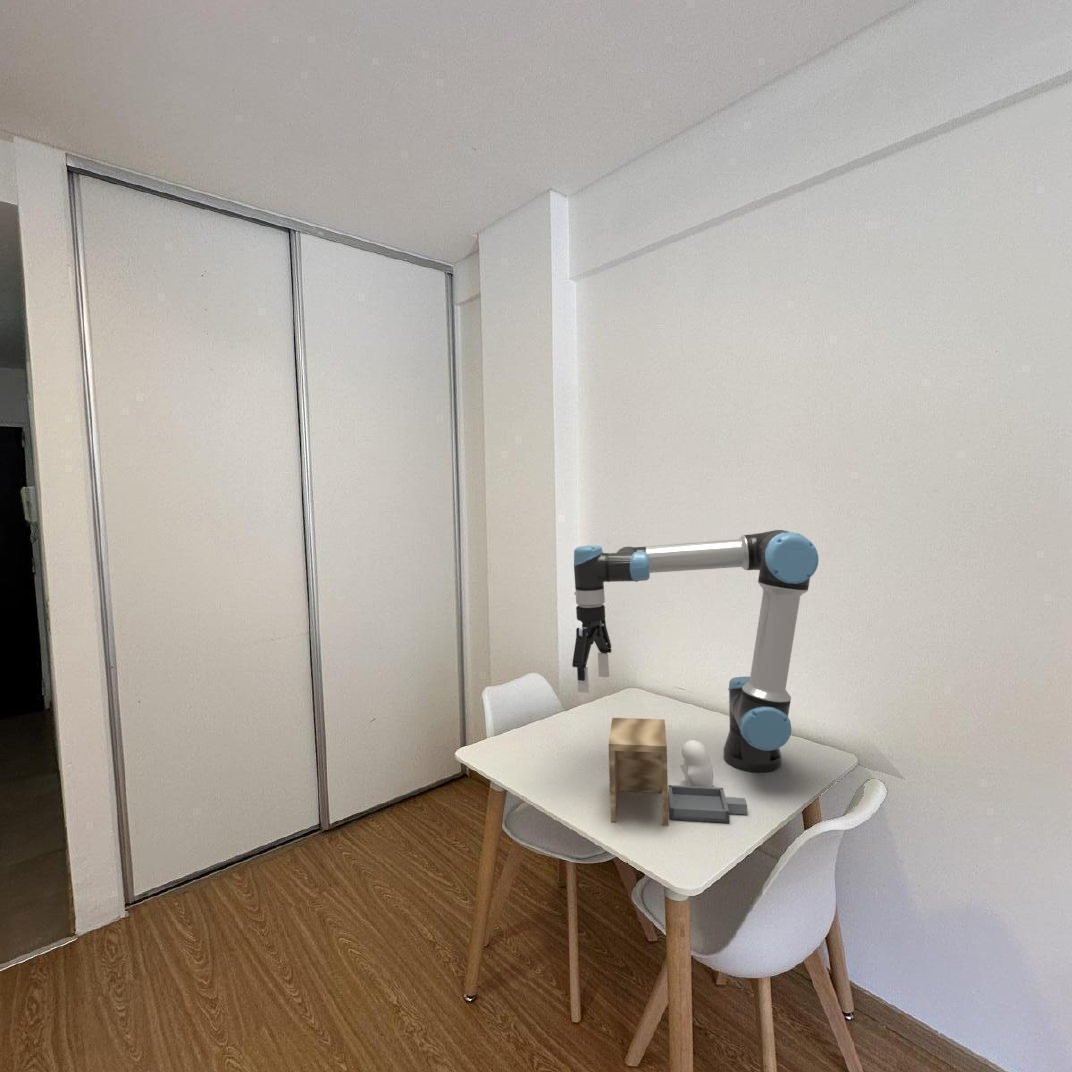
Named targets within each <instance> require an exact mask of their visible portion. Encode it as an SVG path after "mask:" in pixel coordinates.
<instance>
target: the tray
mask: <svg viewBox="0 0 1072 1072" xmlns="http://www.w3.org/2000/svg"><path fill="white" fill-rule="evenodd" d="M668 808H669V819H670V820H675V821H676V820H678V821H679V820H680V821H696V822H707V823H725V824H727V823H730V814H731V815H748V803H747V800H746V798H745V797H733V796H730V797H729V796H726V794H725V791H724V787H715V786H714V787H713V786H712V787H697V786H687V785H678V784H677V785H676V784H675V785H674V784H668Z"/></svg>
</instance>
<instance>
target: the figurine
mask: <svg viewBox="0 0 1072 1072" xmlns="http://www.w3.org/2000/svg"><path fill="white" fill-rule="evenodd" d="M681 755H682V758H683V761H681V763H680V768H681V770H682V772H683V774H684V779H685V783H686V786H697V787H713V785H714V784H713V783H714V770H713V766H712V762H711V760H710V756H709V755H710V754H709V753H708V751H707V748H706V747H705V746H704V745H703V744H702V742H700V741H698V740H693V739H690V740H688V741H686V742H685V743H684V744H683V746H682V749H681Z"/></svg>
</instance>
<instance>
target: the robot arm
mask: <svg viewBox="0 0 1072 1072" xmlns="http://www.w3.org/2000/svg"><path fill="white" fill-rule="evenodd" d="M819 559H820V558H819V553H818V550H817V548H816V546H815V545H814V544H813V542H812V541H811V540H810V539H808V538H807V537H805V536H804V535H802V534H800V533H798V532H794V531H787V530H783V529H774V530H768V531H764V532H758V533H752V534H743V535H741V536H740V537H739V538H738V539H737V538H736V539H726V540H725V539H724V540H713V541H712V540H711V541H697V542H685V543H671V544H659V545H658V544H657V545H648V546H636V547H635V546H624V547H622V548H619V549H618V550H617V552H607V553H606V552H604V551H603V547H602V546H601V545H583V546H581V545H580V546H577V547H576V548H575V549H574V550H573V570H574V571H573V572H574V587H575V591H574V595H575V603H576V605H577V606H576V607H575V609H576V610H575V611H576V620H577V621H579V622H581V623H582V624H581V627H577V628H576V630H575V633H576V634H575V642H574V649H573V650H574V651H573V656H572V664H571V665H572V668H576V672H577V673H576V675H577V692H578V693H584V694H590V688H589V687H590V684H589V668H588V666H587V663H588V659H589V655H590V651H591V648H592V645H593V644H595V645H596V648H597V650H598V652H597V660H598V661H597V662H598V663H597V665H598V668H597V669H598V677H599V678H609V677H610V667H609V666H610V665H609V654H611V653H612V643H611V639H610V636H609V633H608V632H609V631H608V628H607V623H606V622H607V621H606V607H605V605H604V604H605V603H606V600H605V599H606V598H605V597H606V596H605V585H604V584H605V583H609V582H612V583H613V582H635V583H638V582H645V581H649V579H650V577H651V576H650V575H651V574H655V573H668V572H684V571H685V572H686V571H696V570H697V571H701V570H714V569H729V568H732V569H733V568H742V569H743V570H744V571H759V572H758V573H759V574H758V580H757V583H758V585H759V586H760V587H761V588H762V596H761V604H760V610H759V615H758V621H757V622H758V623H757V630H756V636H755V637H756V638H755V644H754V650H753V657H752V663H751V668H750V670H751V671H750V676H736V677H733V678H731V679H730V680H729V681H728V682H729V683H728V699H729V701H728V703H729V707H728V708H729V711H728V713H729V731H728V735H727V738H726V741H725V743H724V746H723V759H724V760H723V761H725V763H727V764H728V765H730V766H732V767H734V768H737V769H739V770H742V771H745V772H746V771H747V772H757V773H767V772H771V771H775V770H777V769H779V768H780V767H781V766H782V753H781V750H780V748H781V747H783V746H784V745H786V744H787V743H788V741H789V740H790V738H791V735H792V723H791V720H790V717H789V713H790V708H791V707H790V706H791V701H792V696H791V695H790V693H789V692H788V691H787V683H788V676H789V670H790V663H791V657H792V650H793V645H794V636H795V632H796V625H797V618H798V612H799V607H800V600H801V596H803V595H804V594H805V593H808V591H809V587H810V581H811V578H812V577H813V576H814V574H815V573H816V571H817V569H818V565H819Z"/></svg>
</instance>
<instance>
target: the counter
mask: <svg viewBox="0 0 1072 1072" xmlns="http://www.w3.org/2000/svg"><path fill="white" fill-rule="evenodd" d="M666 732H667V731H666V719H665V718H663V719H662V718H639V717H638V718H637V717H635V718H633V717H611V725H610V732H609V737H608V772H609V775H608V776H609V807H610V823H617V818H618V817H617V814H618V805H619V795H620V793H619V792H620V791H621V792H622V791H623V792H634V793H635V792H637V793H638V792H639V793H653V794H654V793H655V794H656V793H657V794H661V795H662V826H663V827H664V826H665V827H666V826H667V827H668V826H669V824H670V823H669V819H670V818H669V790H668V785H669V784H668V746H667V743H668V742H667V733H666Z"/></svg>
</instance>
